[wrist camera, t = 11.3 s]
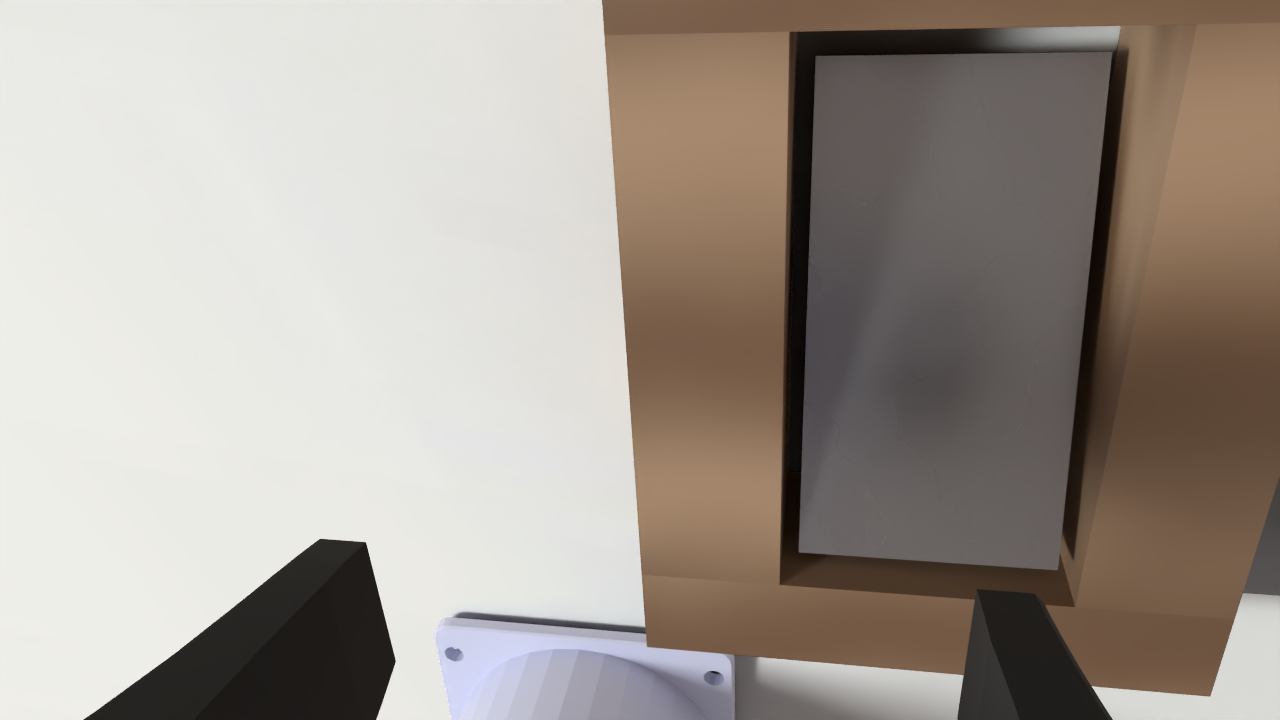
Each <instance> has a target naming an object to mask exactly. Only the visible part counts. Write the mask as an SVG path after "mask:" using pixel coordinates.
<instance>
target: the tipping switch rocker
mask: <svg viewBox="0 0 1280 720" xmlns="http://www.w3.org/2000/svg"><path fill="white" fill-rule="evenodd" d="M1111 59H1112V52H1065V53H994V54H924V55H854V56H816V63H815V92H814V121H813V150H812V179H811V208H810V237H809V266H808V295H807V324H806V353H805V382H804V412H803V441H802V470H801V499H800V528H799V552H800V553H815V554H829V555H844V556H858V557H872V558H887V559H901V560H916V561H930V562H944V563H959V564H973V565H988V566H1002V567H1016V568H1031V569H1045V570H1058V564H1059V555H1060V545H1061V536H1062V526H1063V517H1064V507H1065V498H1066V488H1067V479H1068V469H1069V460H1070V450H1071V440H1072V431H1073V421H1074V412H1075V402H1076V393H1077V383H1078V374H1079V364H1080V355H1081V345H1082V335H1083V326H1084V316H1085V307H1086V297H1087V288H1088V278H1089V269H1090V259H1091V250H1092V240H1093V231H1094V221H1095V211H1096V202H1097V192H1098V183H1099V173H1100V164H1101V154H1102V145H1103V135H1104V126H1105V116H1106V106H1107V97H1108V87H1109V78H1110V68H1111Z"/></svg>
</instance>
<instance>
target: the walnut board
mask: <svg viewBox="0 0 1280 720" xmlns="http://www.w3.org/2000/svg"><path fill="white" fill-rule="evenodd" d="M602 5H603V20H604V34H605V48H606V63H607V77H608V92H609V106H610V121H611V135H612V150H613V164H614V179H615V193H616V207H617V222H618V236H619V251H620V265H621V280H622V294H623V309H624V323H625V338H626V352H627V366H628V381H629V395H630V410H631V424H632V439H633V453H634V468H635V482H636V497H637V511H638V525H639V540H640V554H641V569H642V583H643V598H644V612H645V627H646V641H647V647H651V648H663V649H674V650H685V651H697V652H708V653H720V654H731V655H742V656H754V657H765V658H777V659H788V660H799V661H811V662H822V663H834V664H845V665H856V666H868V667H879V668H891V669H902V670H914V671H925V672H936V673H948V674H959V675H964V670H965V663H966V657H967V650H968V643H969V636H970V630H971V623H972V616H973V609H974V603H975V596H976V589H983V590H996V591H1009V592H1022V593H1035V594H1036V595H1037V596H1038V597H1039V598H1040V599H1041V600H1042V601H1043V602H1044V604H1045V606H1046V608H1047V610H1048V612H1049V614H1050V616H1051V618H1052V619H1053V621H1054V623H1055V625H1056V627H1057V628H1058V630H1059V632H1060V634H1061V636H1062V638H1063V639H1064V641H1065V643H1066V645H1067V646H1068V648H1069V650H1070V651H1071V653H1072V655H1073V657H1074V658H1075V660H1076V662H1077V663H1078V665H1079V667H1080V668H1081V670H1082V672H1083V673H1084V675H1085V677H1086V678H1087V680H1088V681H1089V683H1090V685H1091V686H1096V687H1107V688H1119V689H1130V690H1142V691H1153V692H1164V693H1176V694H1187V695H1199V696H1210V695H1211V692H1212V689H1213V686H1214V683H1215V679H1216V676H1217V673H1218V670H1219V667H1220V664H1221V660H1222V657H1223V654H1224V651H1225V648H1226V644H1227V641H1228V638H1229V635H1230V632H1231V629H1232V625H1233V622H1234V619H1235V616H1236V613H1237V609H1238V606H1239V603H1240V600H1241V597H1242V594H1243V590H1244V587H1245V584H1246V581H1247V578H1248V575H1249V571H1250V568H1251V565H1252V562H1253V559H1254V555H1255V552H1256V549H1257V546H1258V543H1259V540H1260V536H1261V533H1262V530H1263V527H1264V524H1265V520H1266V517H1267V514H1268V511H1269V508H1270V505H1271V501H1272V498H1273V495H1274V492H1275V489H1276V486H1277V482H1278V479H1279V476H1280V0H602ZM1071 26H1121V30H1120V36H1119V42H1118V47H1117V53H1116V59H1115V65H1114V70H1113V76H1112V82H1111V88H1110V93H1109V99H1108V105H1107V111H1106V116H1105V126H1104V135H1103V145H1102V154H1101V164H1100V173H1099V183H1098V192H1097V202H1096V211H1095V221H1094V231H1093V240H1092V250H1091V259H1090V269H1089V278H1088V288H1087V297H1086V307H1085V316H1084V326H1083V335H1082V345H1081V355H1080V364H1079V374H1078V383H1077V393H1076V402H1075V412H1074V421H1073V431H1072V440H1071V450H1070V460H1069V469H1068V479H1067V488H1066V498H1065V507H1064V517H1063V526H1062V536H1061V545H1060V555H1059V564H1058V570H1045V569H1031V568H1016V567H1002V566H988V565H973V564H959V563H944V562H930V561H916V560H901V559H887V558H872V557H858V556H844V555H829V554H815V553H800V552H799V528H800V499H801V472H788V456H789V410H790V364H791V319H792V273H793V227H794V182H795V136H796V91H797V45H798V32H799V31H854V30H908V29H962V28H1017V27H1071Z"/></svg>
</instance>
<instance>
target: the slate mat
mask: <svg viewBox="0 0 1280 720" xmlns="http://www.w3.org/2000/svg"><path fill="white" fill-rule="evenodd" d="M1243 593H1253V594H1267V595H1280V476H1279V479H1278V482H1277V486H1276V489H1275V492H1274V495H1273V498H1272V501H1271V505H1270V508H1269V511H1268V514H1267V517H1266V520H1265V524H1264V527H1263V530H1262V533H1261V536H1260V540H1259V543H1258V546H1257V549H1256V552H1255V555H1254V559H1253V562H1252V565H1251V568H1250V571H1249V575H1248V578H1247V581H1246V584H1245V587H1244V590H1243Z"/></svg>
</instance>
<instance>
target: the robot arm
mask: <svg viewBox="0 0 1280 720" xmlns="http://www.w3.org/2000/svg"><path fill="white" fill-rule="evenodd" d="M434 639H435V644H436V648H437V653H438V658H439V663H440V668H441V672H442V677H443V682H444V687H445V691H446V696H447V701H448V706H449V711H450V715H451V720H735V656H734V655H731V654H720V653H708V652H697V651H685V650H674V649H663V648H651V647H647V641H646V634H641V633H629V632H618V631H606V630H594V629H582V628H571V627H559V626H547V625H536V624H524V623H512V622H501V621H489V620H477V619H465V618H454V617H452V618H445V619H443V620H441V622H440V623H439V624H438V626H437V629H436V631H435V634H434ZM453 647H454V648H458V649H459V650H456V649H454V648H453ZM395 662H396V661H395V657H394V653H393V649H392V645H391V641H390V637H389V633H388V629H387V625H386V621H385V617H384V613H383V609H382V605H381V601H380V597H379V593H378V589H377V585H376V581H375V577H374V573H373V569H372V565H371V561H370V557H369V553H368V549H367V545H366V542H354V541H341V540H328V539H319V540H318V541H317V542H315V543H314V544H313V545H311V546H310V547H309V548H307V549H306V550H305V551H303V552H302V553H301V554H300V555H298V556H297V557H296V558H294V559H293V560H292V561H291V562H289V563H288V564H287V565H286V566H284V567H283V568H282V569H281V570H279V571H278V572H277V573H276V574H274V575H273V576H272V577H271V578H269V579H268V580H267V581H266V582H264V583H263V584H262V585H261V586H260V587H258V588H257V589H256V590H255V591H253V592H252V593H251V594H250V595H248V596H247V597H246V598H245V599H243V600H242V601H241V602H240V603H238V604H237V605H236V606H235V607H233V608H232V609H231V610H230V611H228V612H227V613H226V614H225V615H223V616H222V617H221V618H220V619H218V620H217V621H216V622H214V623H213V624H212V625H211V626H209V627H208V628H207V629H206V630H204V631H203V632H202V633H200V634H199V635H198V636H197V637H195V638H194V639H193V640H192V641H190V642H189V643H188V644H187V645H185V646H184V647H183V648H181V649H180V650H179V651H178V652H176V653H175V654H174V655H172V656H171V657H170V658H168V659H167V660H166V661H164V662H163V663H161V664H160V665H159V666H157V667H156V668H155V669H153V670H152V671H150V672H149V673H148V674H146V675H145V676H144V677H142V678H141V679H140V680H138V681H137V682H135V683H134V684H133V685H131V686H130V687H129V688H127V689H126V690H124V691H123V692H122V693H120V694H119V695H118V696H116V697H115V698H113V699H112V700H111V701H109V702H108V703H107V704H105V705H104V706H102V707H101V708H100V709H98V710H97V711H96V712H94V713H93V714H91V715H90V716H88V717H87V718H85V719H84V720H376V718H377V716H378V713H379V710H380V707H381V705H382V702H383V698H384V695H385V692H386V689H387V686H388V683H389V680H390V677H391V674H392V671H393V668H394V665H395ZM709 671H716V672H719V673H721V674H714V673H710V672H709ZM958 720H1113V719H1112V718H1111V716H1110V715H1109V713H1108V712H1107V710H1106V709H1105V707H1104V706H1103V704H1102V702H1101V701H1100V699H1099V698H1098V696H1097V694H1096V693H1095V691H1094V690H1093V688H1092V686H1091V685H1090V683H1089V681H1088V680H1087V678H1086V677H1085V675H1084V673H1083V672H1082V670H1081V668H1080V667H1079V665H1078V663H1077V662H1076V660H1075V658H1074V657H1073V655H1072V653H1071V651H1070V650H1069V648H1068V646H1067V645H1066V643H1065V641H1064V639H1063V638H1062V636H1061V634H1060V632H1059V630H1058V628H1057V627H1056V625H1055V623H1054V621H1053V619H1052V618H1051V616H1050V614H1049V612H1048V610H1047V608H1046V606H1045V604H1044V602H1043V601H1042V600H1041V599H1040V598H1039V597H1038V596H1037V595H1036V594H1035V593H1022V592H1009V591H996V590H983V589H976V596H975V603H974V609H973V616H972V623H971V630H970V636H969V643H968V650H967V657H966V663H965V670H964V677H963V684H962V690H961V697H960V704H959V711H958Z"/></svg>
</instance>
